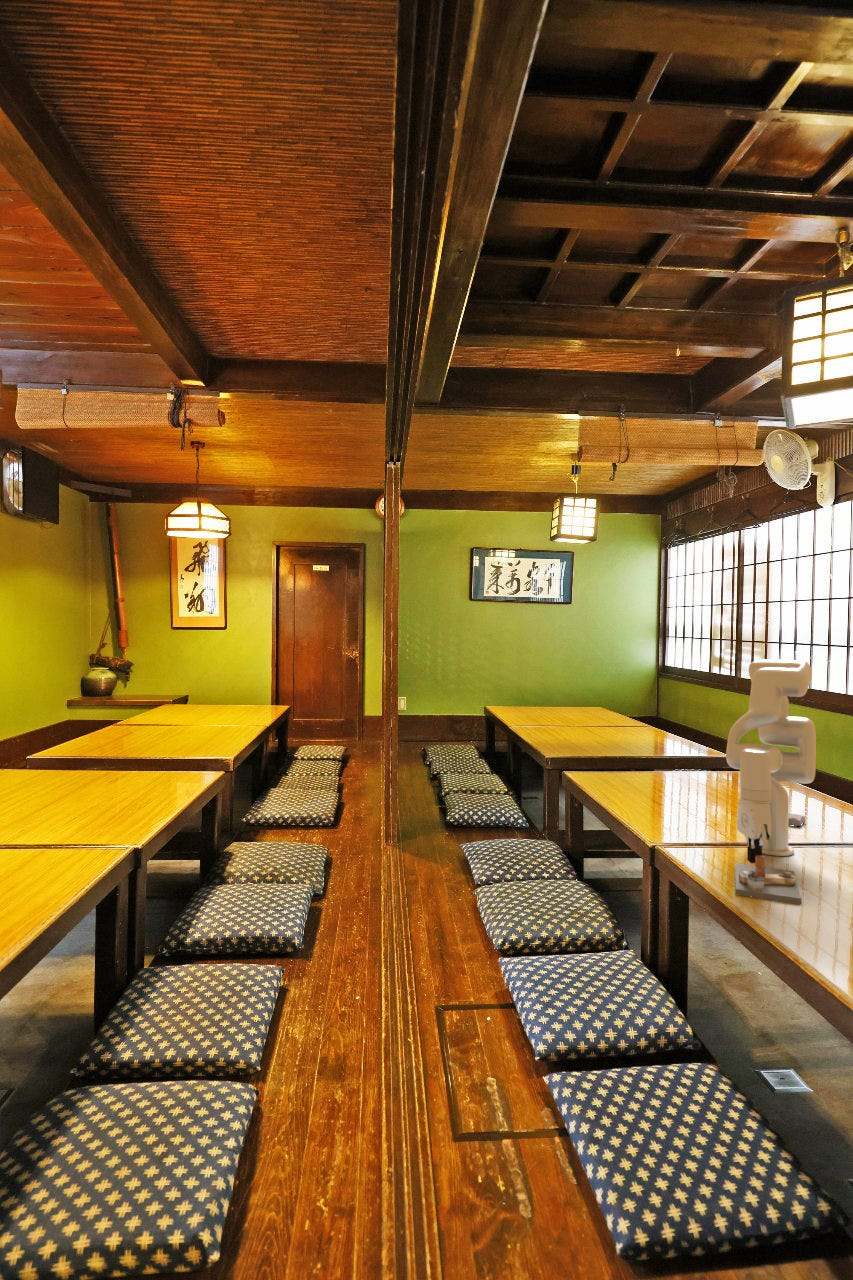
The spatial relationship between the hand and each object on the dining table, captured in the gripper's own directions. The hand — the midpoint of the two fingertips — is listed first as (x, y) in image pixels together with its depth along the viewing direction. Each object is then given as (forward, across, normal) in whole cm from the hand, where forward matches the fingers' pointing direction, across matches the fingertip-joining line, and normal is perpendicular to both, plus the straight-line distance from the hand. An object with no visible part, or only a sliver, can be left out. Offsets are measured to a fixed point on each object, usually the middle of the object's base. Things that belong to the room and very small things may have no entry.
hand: (754, 861), depth 184 cm
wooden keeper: (+4, +6, -4) cm, 8 cm away
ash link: (+4, +3, +2) cm, 6 cm away
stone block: (+7, -61, +44) cm, 75 cm away
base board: (+6, +1, +2) cm, 7 cm away
